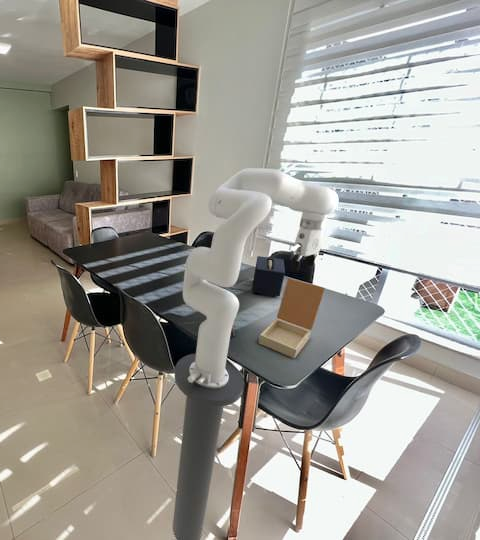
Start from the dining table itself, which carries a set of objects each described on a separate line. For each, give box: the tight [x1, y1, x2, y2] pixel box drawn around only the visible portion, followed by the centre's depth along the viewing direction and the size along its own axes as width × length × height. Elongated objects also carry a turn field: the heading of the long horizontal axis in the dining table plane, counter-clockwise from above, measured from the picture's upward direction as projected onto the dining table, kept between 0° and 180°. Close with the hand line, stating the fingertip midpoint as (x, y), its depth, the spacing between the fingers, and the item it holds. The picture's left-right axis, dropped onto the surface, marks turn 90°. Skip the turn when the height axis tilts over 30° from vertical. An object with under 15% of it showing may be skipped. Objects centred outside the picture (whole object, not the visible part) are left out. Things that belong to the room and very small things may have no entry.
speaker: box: [251, 255, 286, 298], centre depth 152 cm, size 22×13×15 cm, turn 154°
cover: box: [276, 277, 326, 331], centre depth 113 cm, size 17×13×1 cm
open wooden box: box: [257, 318, 312, 359], centre depth 110 cm, size 17×13×4 cm
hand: (301, 267), depth 111 cm, fingers open, 9 cm apart
